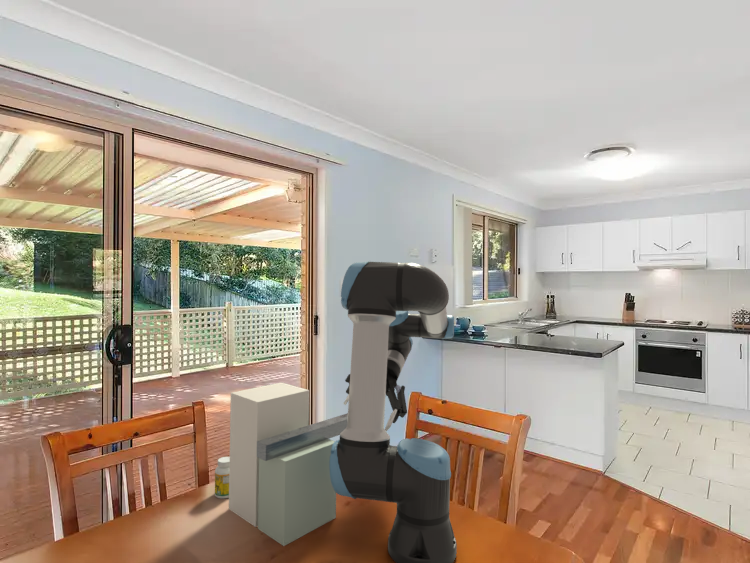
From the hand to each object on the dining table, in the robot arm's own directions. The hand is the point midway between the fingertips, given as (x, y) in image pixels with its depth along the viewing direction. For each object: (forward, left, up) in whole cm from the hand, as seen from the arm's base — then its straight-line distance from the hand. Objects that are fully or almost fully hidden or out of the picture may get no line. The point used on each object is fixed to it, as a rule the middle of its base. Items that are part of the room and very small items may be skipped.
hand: (366, 415), depth 123 cm
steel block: (-3, +18, -3) cm, 18 cm away
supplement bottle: (+20, +33, -22) cm, 44 cm away
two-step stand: (+2, +24, -22) cm, 32 cm away
